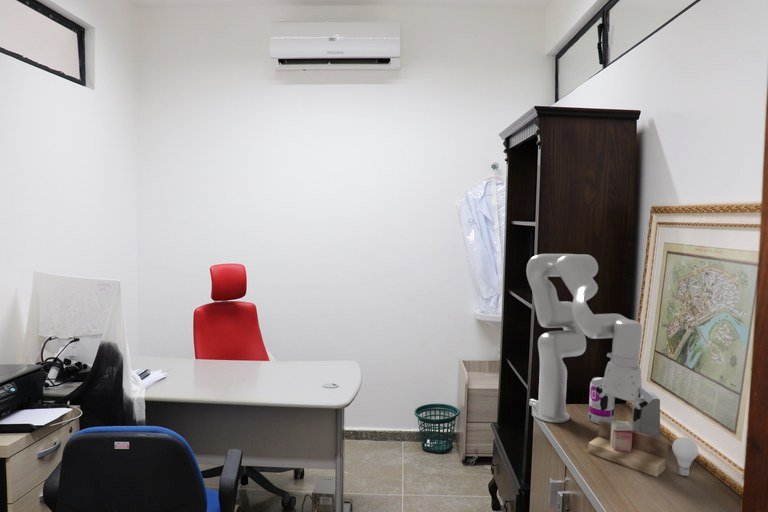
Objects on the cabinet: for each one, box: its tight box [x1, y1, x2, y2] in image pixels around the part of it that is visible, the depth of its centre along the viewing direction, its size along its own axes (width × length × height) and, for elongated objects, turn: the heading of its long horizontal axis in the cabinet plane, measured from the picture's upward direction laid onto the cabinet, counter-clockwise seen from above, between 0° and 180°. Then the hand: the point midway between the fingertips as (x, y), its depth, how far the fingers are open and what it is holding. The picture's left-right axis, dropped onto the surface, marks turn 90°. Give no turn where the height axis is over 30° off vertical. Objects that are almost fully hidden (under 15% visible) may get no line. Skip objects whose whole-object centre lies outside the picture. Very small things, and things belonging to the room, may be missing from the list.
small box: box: [610, 419, 633, 452], centre depth 155 cm, size 5×4×8 cm
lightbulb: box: [671, 436, 699, 477], centre depth 145 cm, size 6×6×11 cm
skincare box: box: [632, 391, 661, 438], centre depth 167 cm, size 8×7×16 cm
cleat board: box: [587, 420, 670, 478], centre depth 154 cm, size 20×8×8 cm, turn 44°
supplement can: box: [588, 376, 616, 425], centre depth 183 cm, size 8×8×15 cm
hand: (619, 414), depth 156 cm, fingers open, 9 cm apart
